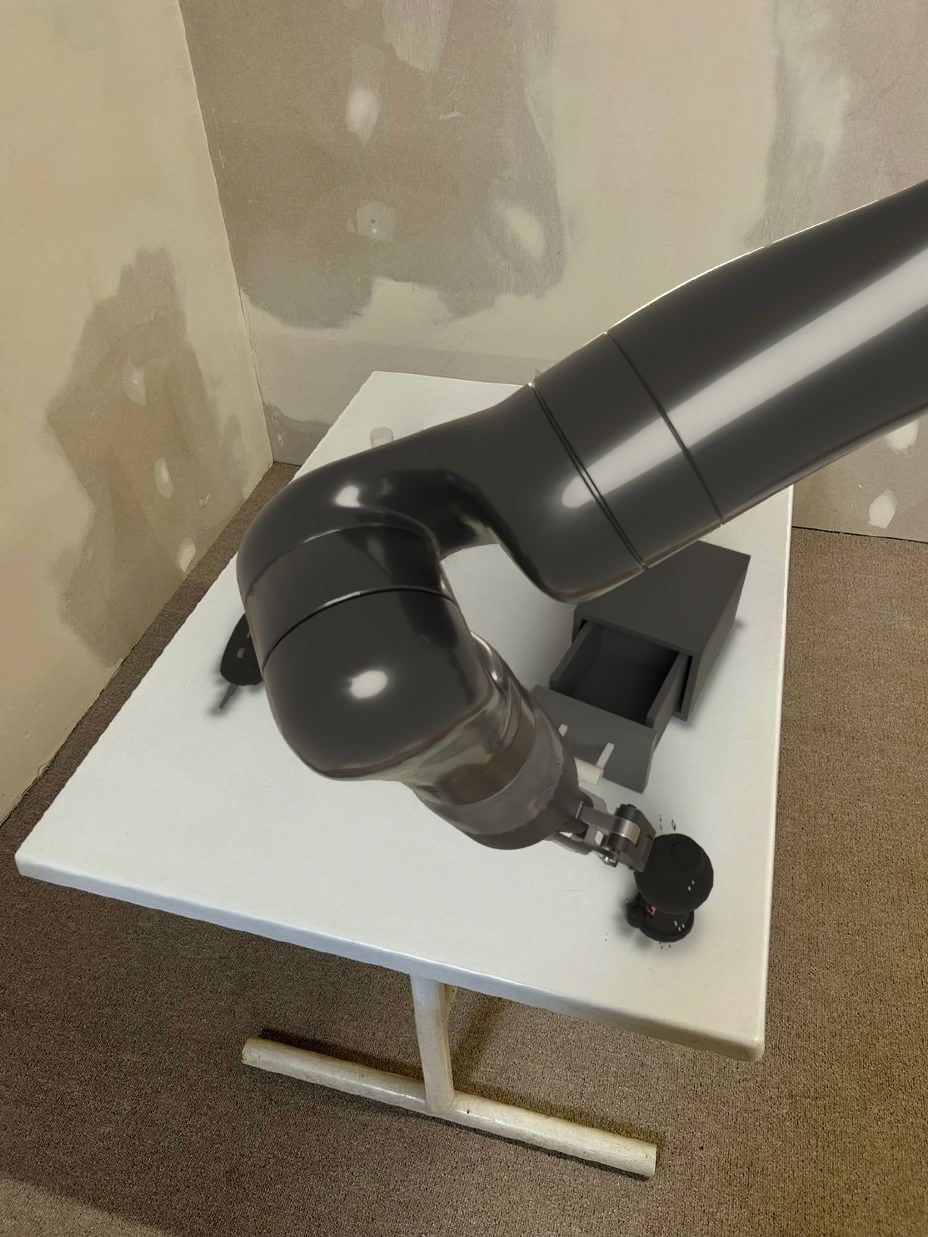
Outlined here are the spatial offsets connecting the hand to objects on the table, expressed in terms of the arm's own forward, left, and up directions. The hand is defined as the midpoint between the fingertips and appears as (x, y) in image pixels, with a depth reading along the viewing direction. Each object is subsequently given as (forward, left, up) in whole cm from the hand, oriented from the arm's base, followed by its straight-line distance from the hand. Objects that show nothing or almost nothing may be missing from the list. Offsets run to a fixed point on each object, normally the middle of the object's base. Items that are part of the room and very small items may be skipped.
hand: (556, 827), depth 58 cm
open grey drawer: (+4, -21, -15) cm, 26 cm away
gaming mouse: (+41, -14, -16) cm, 46 cm away
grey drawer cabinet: (+4, -34, -16) cm, 38 cm away
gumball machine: (-7, -6, -16) cm, 19 cm away
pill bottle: (+34, -43, -16) cm, 57 cm away
